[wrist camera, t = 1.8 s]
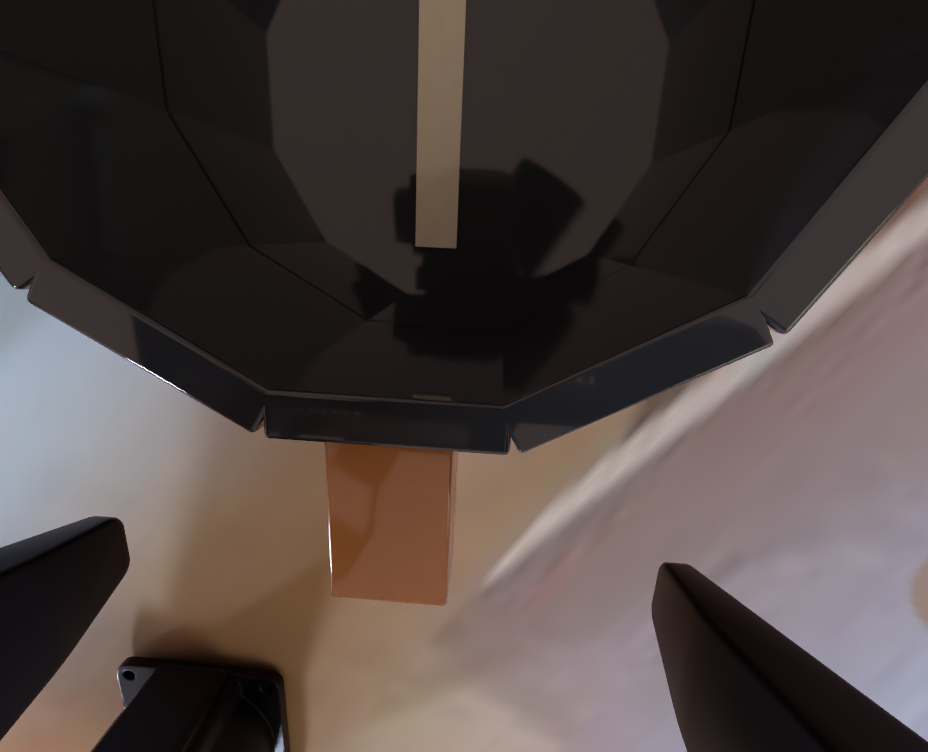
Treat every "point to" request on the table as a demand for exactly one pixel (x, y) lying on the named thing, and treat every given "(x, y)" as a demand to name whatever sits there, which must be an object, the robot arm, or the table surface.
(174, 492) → the table surface
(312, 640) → the table surface
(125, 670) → the robot arm
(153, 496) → the table surface
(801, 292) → the bowl
